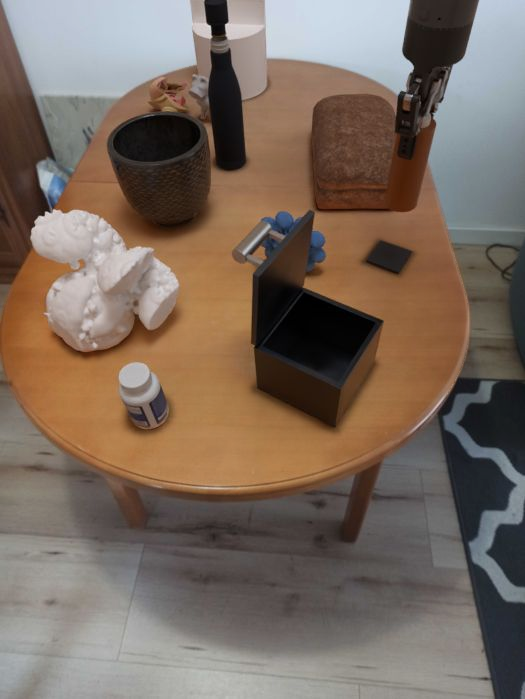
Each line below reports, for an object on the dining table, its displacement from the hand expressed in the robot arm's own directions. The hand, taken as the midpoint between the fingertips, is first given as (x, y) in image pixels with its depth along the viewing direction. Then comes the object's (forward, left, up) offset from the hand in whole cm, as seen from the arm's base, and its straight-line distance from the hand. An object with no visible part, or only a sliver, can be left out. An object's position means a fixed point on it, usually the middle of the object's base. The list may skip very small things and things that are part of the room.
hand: (412, 147), depth 72 cm
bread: (+17, -21, -21) cm, 35 cm away
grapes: (+13, +12, -21) cm, 28 cm away
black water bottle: (+41, -11, -21) cm, 48 cm away
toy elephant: (+66, -21, -21) cm, 73 cm away
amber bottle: (0, 0, -9) cm, 9 cm away
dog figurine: (+55, -25, -21) cm, 64 cm away
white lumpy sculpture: (+32, +34, -21) cm, 51 cm away
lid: (+4, +28, -4) cm, 29 cm away
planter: (+41, +9, -21) cm, 47 cm away
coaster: (0, 0, -21) cm, 21 cm away
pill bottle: (+16, +46, -21) cm, 53 cm away
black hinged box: (-1, +28, -21) cm, 35 cm away
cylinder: (+60, -40, -21) cm, 75 cm away
